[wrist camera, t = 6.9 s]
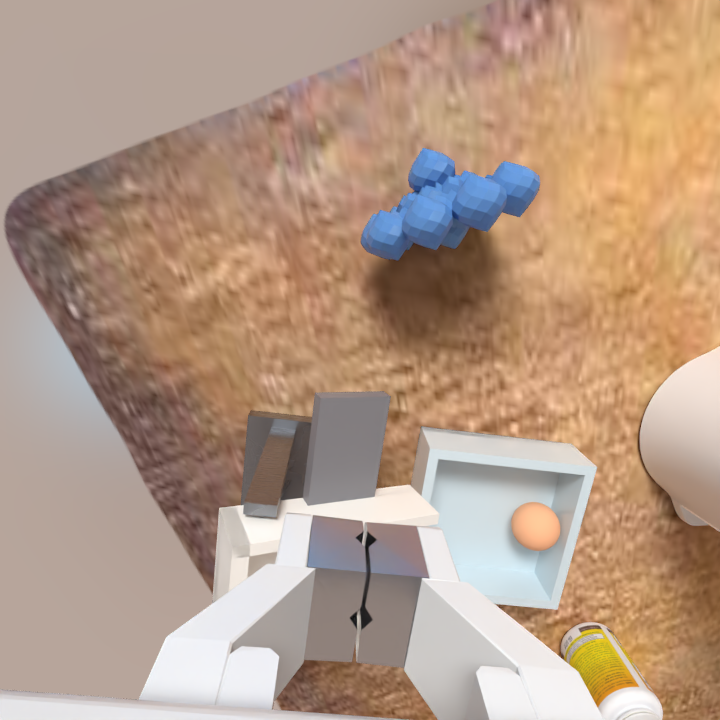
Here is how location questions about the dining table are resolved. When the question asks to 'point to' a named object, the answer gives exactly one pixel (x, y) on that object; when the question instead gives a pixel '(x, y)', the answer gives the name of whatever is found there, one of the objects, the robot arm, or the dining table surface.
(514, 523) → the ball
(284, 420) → the trough stand
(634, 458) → the dining table surface
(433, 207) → the grapes
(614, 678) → the supplement bottle
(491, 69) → the dining table surface
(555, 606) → the pale blue tray
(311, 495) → the tipping trough
